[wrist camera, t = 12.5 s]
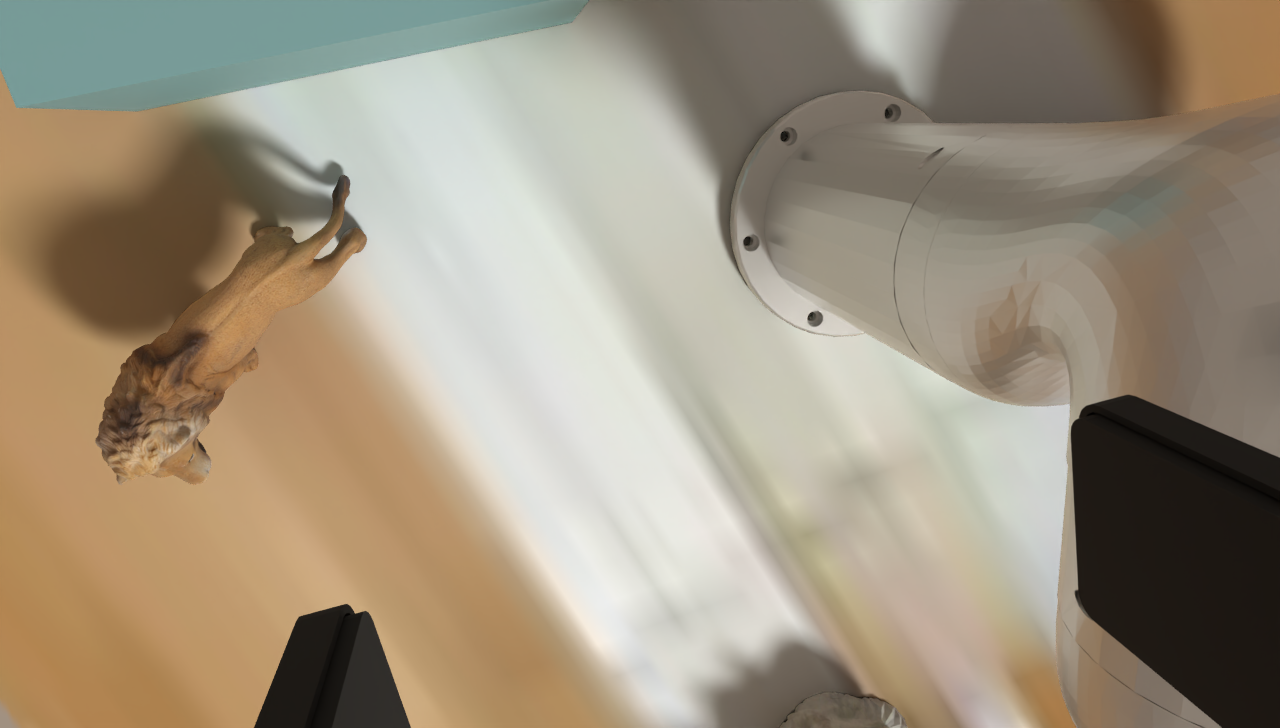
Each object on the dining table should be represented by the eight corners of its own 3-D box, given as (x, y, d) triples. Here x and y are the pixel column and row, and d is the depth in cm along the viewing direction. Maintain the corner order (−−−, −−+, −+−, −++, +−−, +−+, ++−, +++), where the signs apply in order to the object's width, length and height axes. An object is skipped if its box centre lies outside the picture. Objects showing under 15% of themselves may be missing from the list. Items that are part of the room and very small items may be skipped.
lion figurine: (236, 445, 42) (171, 527, 34) (134, 390, 41) (39, 461, 32) (394, 206, 41) (368, 228, 32) (294, 139, 39) (237, 143, 30)
